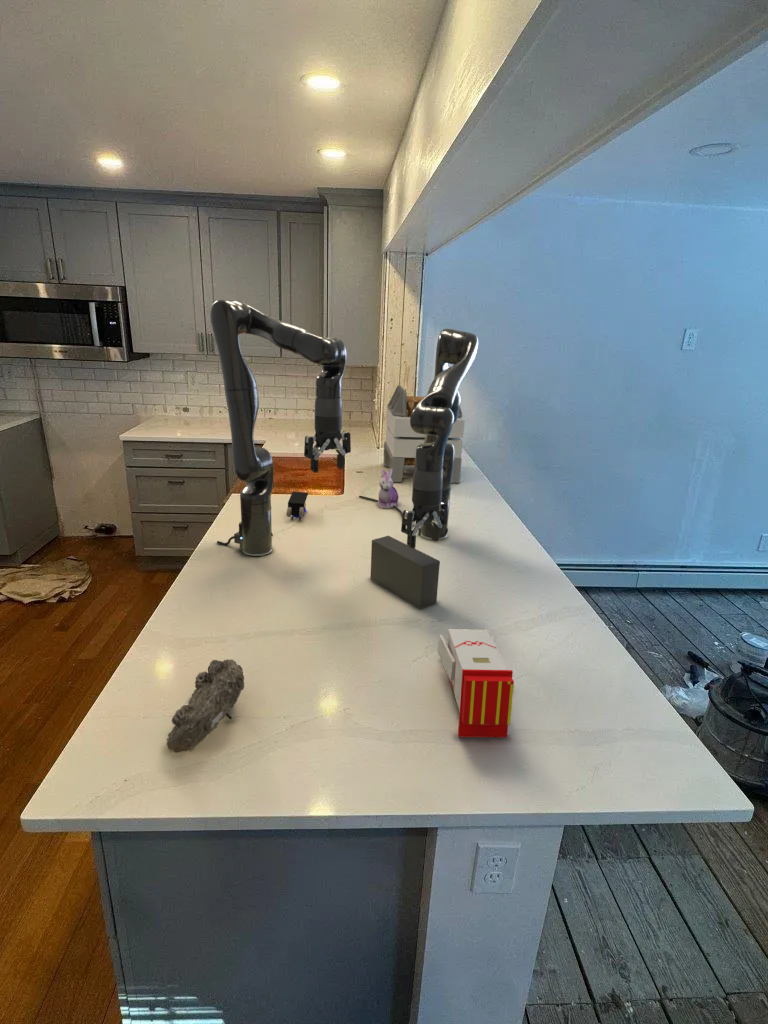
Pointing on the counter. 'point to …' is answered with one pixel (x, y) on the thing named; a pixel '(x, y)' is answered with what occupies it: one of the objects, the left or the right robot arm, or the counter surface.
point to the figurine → (387, 491)
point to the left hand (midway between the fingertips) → (327, 470)
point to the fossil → (206, 705)
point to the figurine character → (297, 505)
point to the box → (405, 571)
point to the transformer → (412, 436)
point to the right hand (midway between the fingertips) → (423, 544)
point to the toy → (478, 682)
